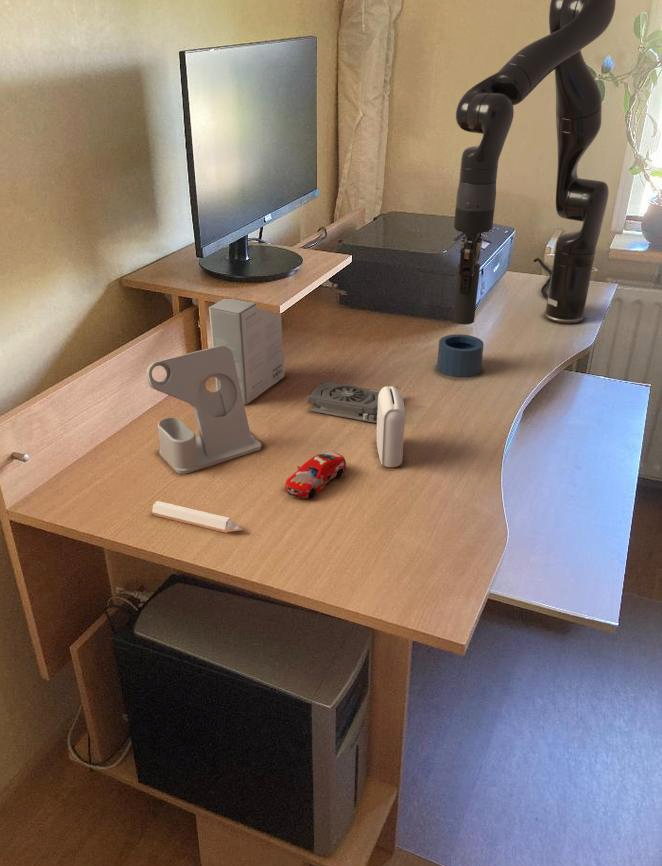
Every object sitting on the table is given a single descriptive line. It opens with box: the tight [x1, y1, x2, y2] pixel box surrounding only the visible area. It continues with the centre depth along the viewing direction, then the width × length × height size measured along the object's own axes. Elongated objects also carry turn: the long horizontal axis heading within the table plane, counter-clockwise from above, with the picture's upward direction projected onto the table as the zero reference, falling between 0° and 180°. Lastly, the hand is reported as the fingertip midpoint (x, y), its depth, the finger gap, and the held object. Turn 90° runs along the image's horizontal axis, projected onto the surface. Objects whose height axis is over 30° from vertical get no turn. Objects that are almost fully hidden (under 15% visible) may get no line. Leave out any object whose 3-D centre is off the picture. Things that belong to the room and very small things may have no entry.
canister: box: [452, 262, 481, 326], centre depth 163 cm, size 4×4×12 cm
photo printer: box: [375, 385, 406, 468], centre depth 139 cm, size 10×4×12 cm, turn 0°
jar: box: [436, 333, 485, 379], centre depth 171 cm, size 9×10×6 cm
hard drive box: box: [208, 290, 285, 406], centre depth 161 cm, size 16×8×20 cm, turn 150°
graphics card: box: [306, 380, 399, 424], centre depth 158 cm, size 17×4×12 cm
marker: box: [151, 500, 244, 534], centre depth 124 cm, size 3×2×16 cm
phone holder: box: [145, 346, 262, 475], centre depth 139 cm, size 17×10×18 cm, turn 122°
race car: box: [284, 451, 347, 499], centre depth 133 cm, size 13×5×4 cm, turn 140°
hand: (466, 289), depth 163 cm, fingers closed on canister, 4 cm apart
